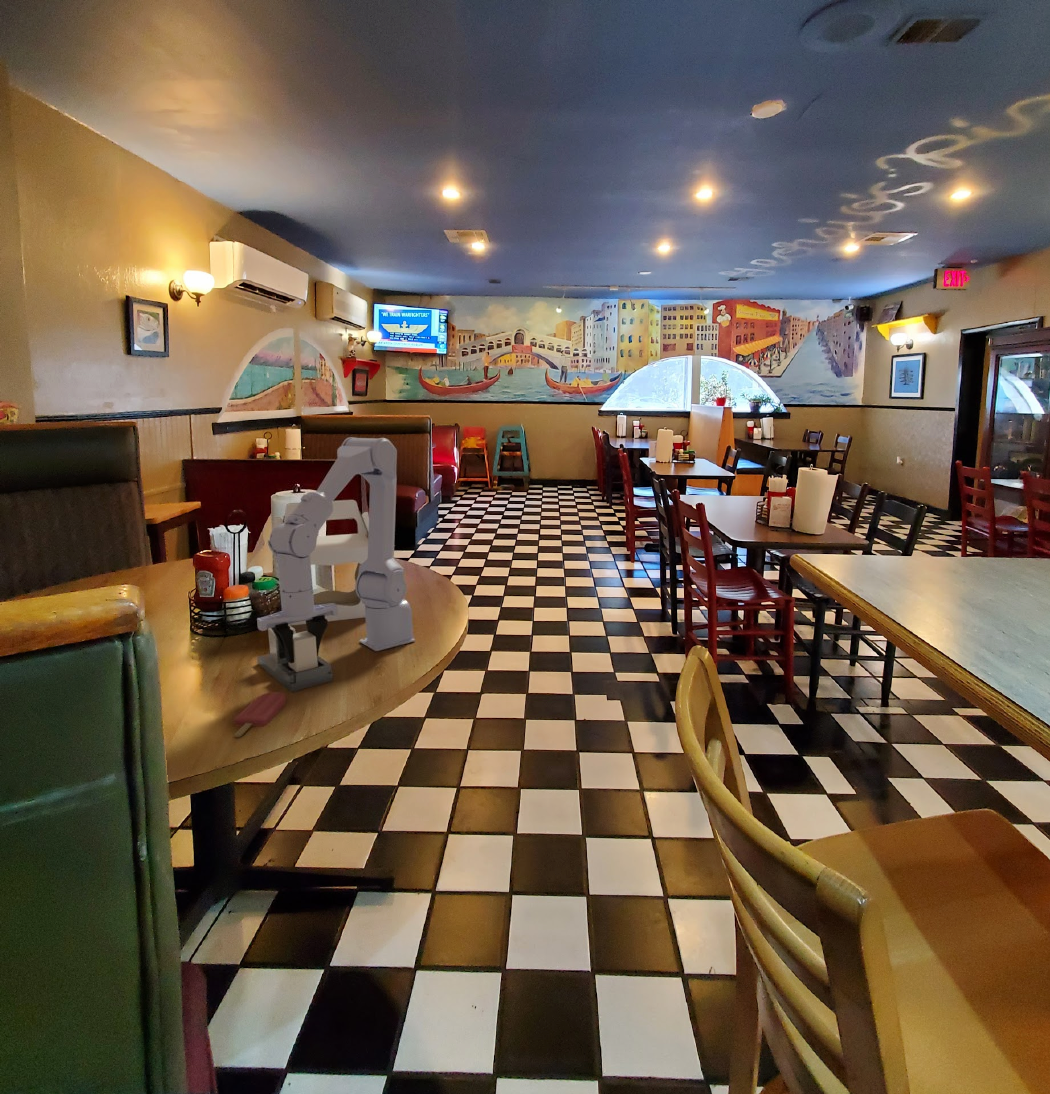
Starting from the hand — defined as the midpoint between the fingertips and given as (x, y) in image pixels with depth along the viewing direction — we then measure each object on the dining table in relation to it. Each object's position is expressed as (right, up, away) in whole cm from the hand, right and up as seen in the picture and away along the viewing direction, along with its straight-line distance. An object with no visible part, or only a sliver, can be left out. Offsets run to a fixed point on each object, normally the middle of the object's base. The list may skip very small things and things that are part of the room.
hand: (302, 658), depth 128 cm
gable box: (-7, +4, +41) cm, 42 cm away
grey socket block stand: (-4, -3, +5) cm, 7 cm away
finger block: (0, -2, 0) cm, 2 cm away
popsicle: (-3, -8, -14) cm, 16 cm away
